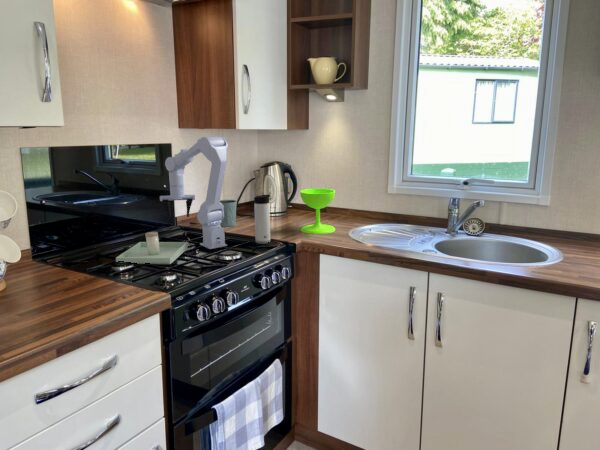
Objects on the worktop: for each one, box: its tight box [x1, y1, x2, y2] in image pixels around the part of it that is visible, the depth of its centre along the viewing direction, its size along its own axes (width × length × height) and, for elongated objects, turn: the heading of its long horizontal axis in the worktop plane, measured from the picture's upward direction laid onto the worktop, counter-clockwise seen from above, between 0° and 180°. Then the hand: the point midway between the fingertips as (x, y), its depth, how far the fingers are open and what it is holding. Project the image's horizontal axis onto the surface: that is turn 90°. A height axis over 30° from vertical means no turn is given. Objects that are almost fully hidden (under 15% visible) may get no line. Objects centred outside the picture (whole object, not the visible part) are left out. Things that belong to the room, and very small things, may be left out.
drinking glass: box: [220, 199, 238, 228], centre depth 229 cm, size 10×10×12 cm
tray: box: [115, 241, 189, 265], centre depth 183 cm, size 22×20×2 cm
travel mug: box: [253, 194, 271, 245], centre depth 198 cm, size 6×7×20 cm
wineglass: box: [299, 188, 336, 235], centre depth 218 cm, size 16×16×18 cm
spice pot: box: [144, 231, 160, 255], centre depth 182 cm, size 5×5×8 cm
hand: (178, 216), depth 206 cm, fingers open, 7 cm apart
